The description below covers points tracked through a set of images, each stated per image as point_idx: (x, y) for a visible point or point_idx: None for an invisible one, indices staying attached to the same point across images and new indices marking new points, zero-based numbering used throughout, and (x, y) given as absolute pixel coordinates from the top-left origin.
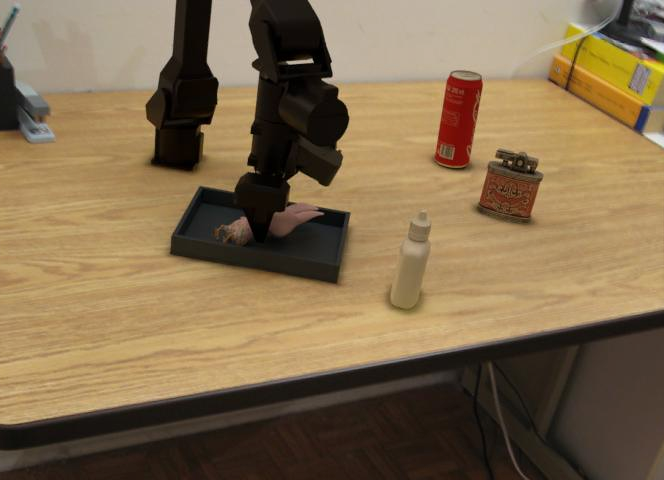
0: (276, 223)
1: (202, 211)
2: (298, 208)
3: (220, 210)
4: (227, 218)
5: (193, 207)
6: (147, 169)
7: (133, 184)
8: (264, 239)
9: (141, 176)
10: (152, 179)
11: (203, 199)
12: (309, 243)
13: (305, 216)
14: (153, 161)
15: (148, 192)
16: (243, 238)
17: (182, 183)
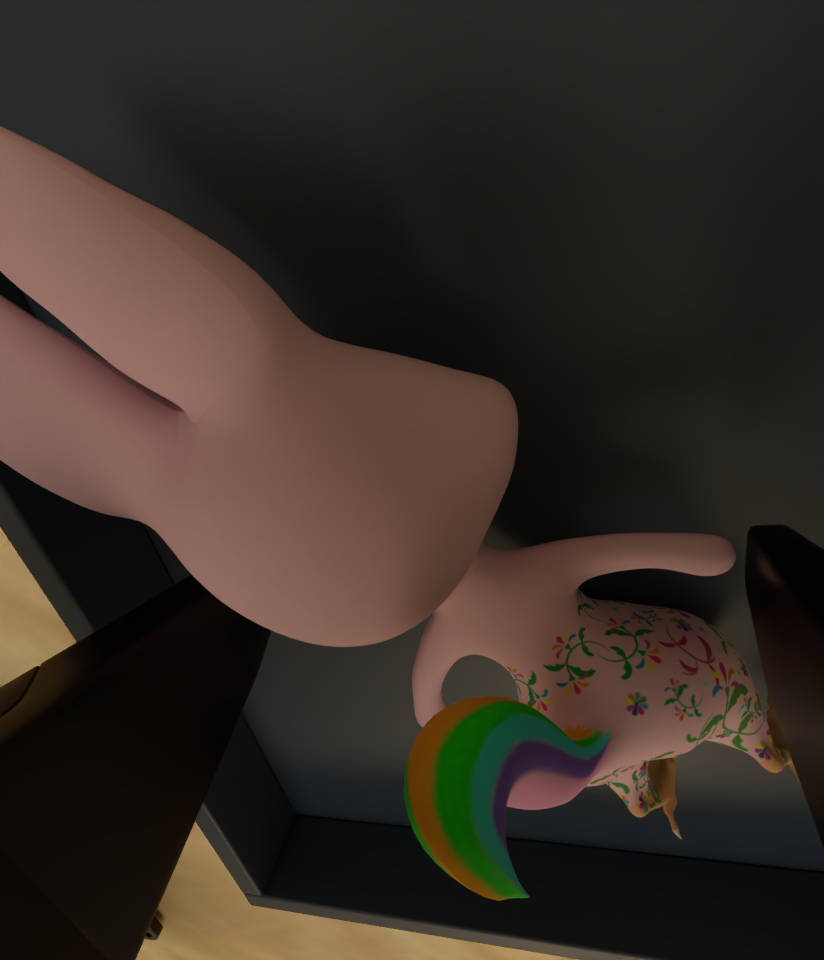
0: (472, 531)
1: (374, 807)
2: (78, 420)
3: (308, 750)
4: (367, 718)
5: (468, 909)
6: (198, 928)
7: (324, 956)
8: (820, 550)
9: (255, 940)
10: (247, 919)
11: (286, 826)
12: (342, 123)
13: (181, 283)
14: (151, 935)
15: (343, 928)
16: (727, 666)
17: (194, 855)
